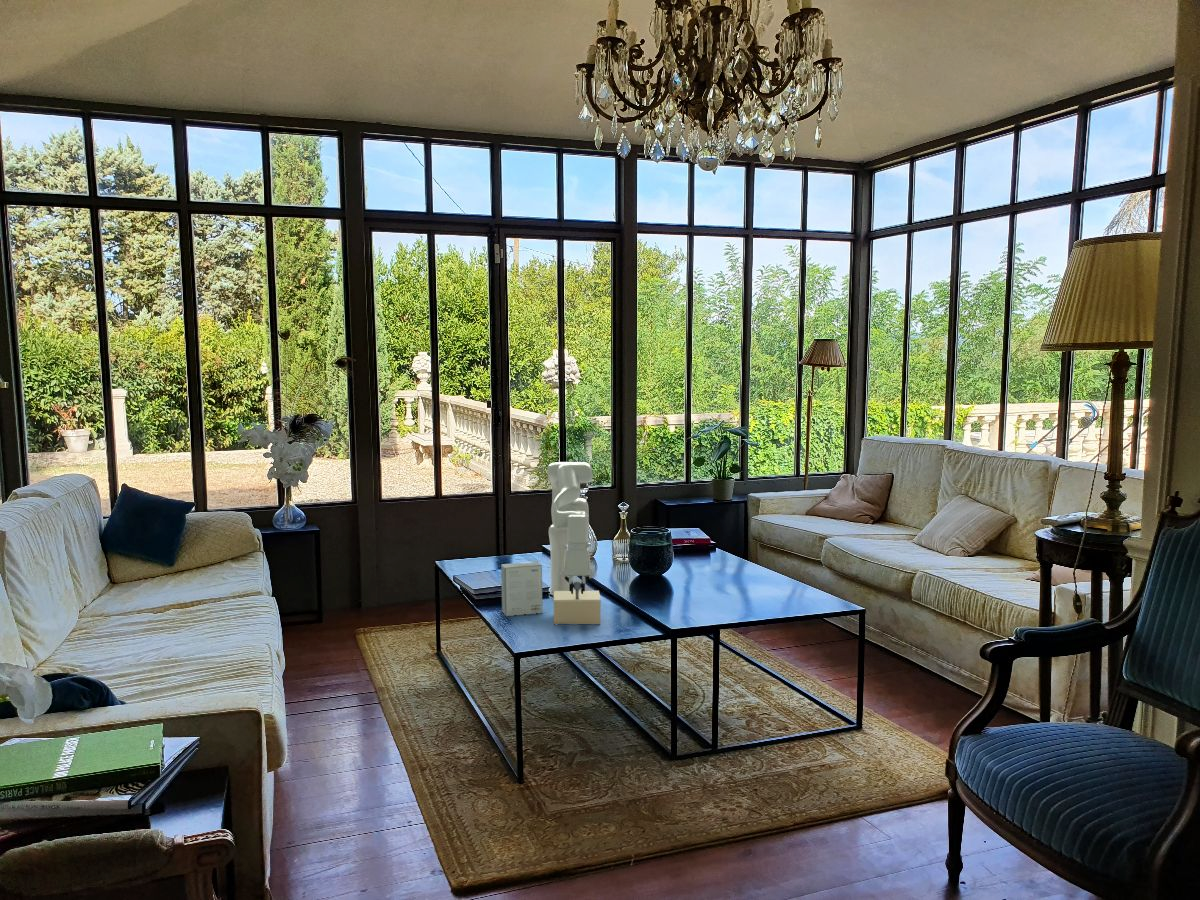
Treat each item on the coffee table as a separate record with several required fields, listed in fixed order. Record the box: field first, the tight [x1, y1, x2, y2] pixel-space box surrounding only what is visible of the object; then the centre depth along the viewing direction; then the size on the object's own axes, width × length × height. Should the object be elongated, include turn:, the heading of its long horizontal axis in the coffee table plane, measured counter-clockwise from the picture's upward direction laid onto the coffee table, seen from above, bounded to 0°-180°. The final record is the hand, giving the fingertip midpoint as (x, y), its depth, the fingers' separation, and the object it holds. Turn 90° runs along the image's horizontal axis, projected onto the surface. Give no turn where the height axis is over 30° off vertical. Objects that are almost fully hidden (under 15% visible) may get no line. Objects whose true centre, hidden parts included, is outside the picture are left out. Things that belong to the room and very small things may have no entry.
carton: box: [553, 601, 602, 625], centre depth 333 cm, size 14×18×9 cm
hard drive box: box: [500, 561, 544, 617], centre depth 342 cm, size 16×8×20 cm, turn 108°
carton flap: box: [553, 581, 602, 603], centre depth 332 cm, size 14×18×8 cm
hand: (577, 592), depth 326 cm, fingers closed on carton flap, 3 cm apart
